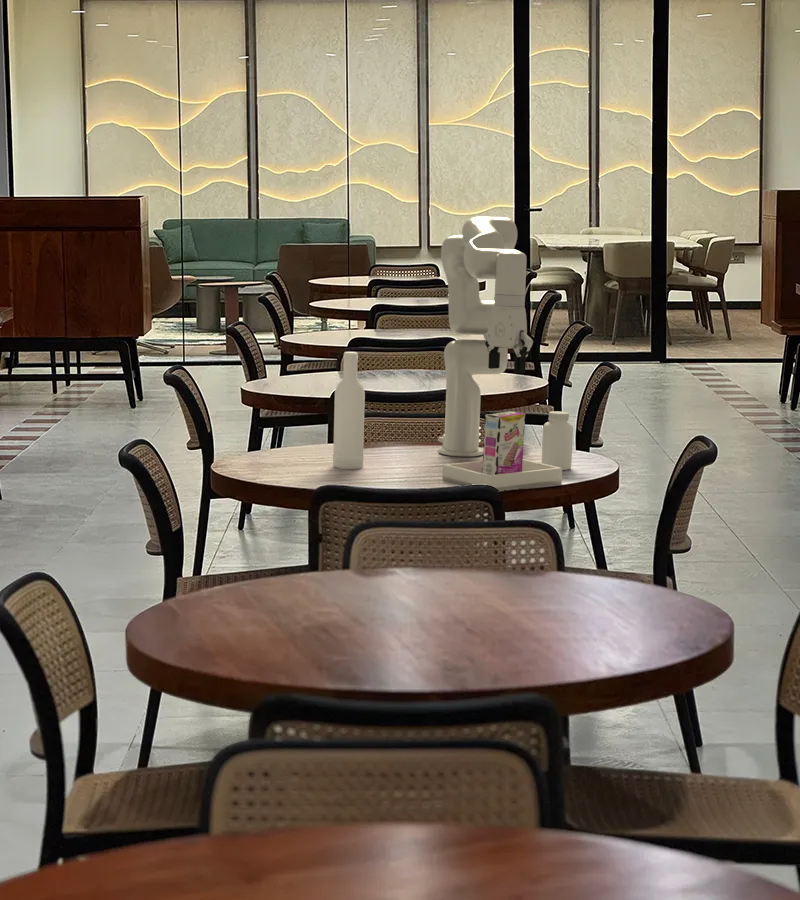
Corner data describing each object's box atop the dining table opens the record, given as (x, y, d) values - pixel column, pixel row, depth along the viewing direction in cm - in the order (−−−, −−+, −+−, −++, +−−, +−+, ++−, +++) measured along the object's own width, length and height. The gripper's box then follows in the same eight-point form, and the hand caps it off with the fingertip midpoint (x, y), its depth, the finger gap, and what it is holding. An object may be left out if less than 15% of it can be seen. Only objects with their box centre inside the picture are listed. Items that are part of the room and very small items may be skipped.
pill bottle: (571, 466, 422) (573, 411, 419) (571, 471, 414) (574, 415, 411) (541, 465, 422) (543, 409, 420) (541, 470, 414) (543, 413, 412)
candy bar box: (497, 482, 390) (499, 416, 387) (481, 479, 393) (483, 414, 391) (523, 476, 399) (526, 412, 396) (507, 474, 402) (510, 410, 399)
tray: (442, 480, 396) (443, 464, 395) (514, 472, 410) (514, 457, 410) (489, 492, 382) (489, 476, 381) (561, 483, 396) (562, 468, 396)
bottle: (367, 465, 413) (370, 351, 408) (356, 470, 406) (359, 354, 401) (339, 463, 416) (341, 350, 411) (328, 467, 409) (330, 352, 404)
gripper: (475, 299, 393) (472, 367, 396) (521, 304, 380) (518, 375, 382) (498, 298, 398) (495, 366, 401) (544, 304, 384) (541, 373, 387)
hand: (506, 370), depth 391 cm, fingers open, 9 cm apart
